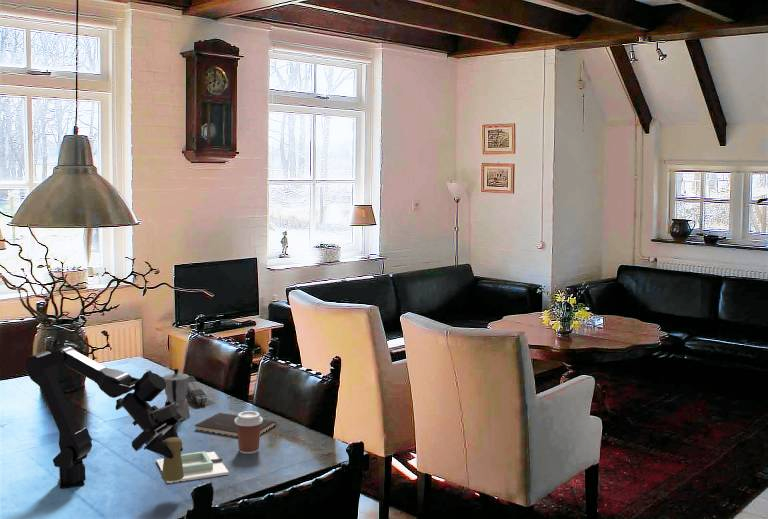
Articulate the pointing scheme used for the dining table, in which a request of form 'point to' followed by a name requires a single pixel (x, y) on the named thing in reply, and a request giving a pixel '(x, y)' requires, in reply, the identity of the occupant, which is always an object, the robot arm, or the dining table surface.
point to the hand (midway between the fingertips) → (177, 454)
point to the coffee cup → (248, 431)
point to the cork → (173, 461)
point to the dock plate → (199, 466)
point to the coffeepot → (178, 391)
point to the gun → (196, 392)
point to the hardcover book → (227, 424)
